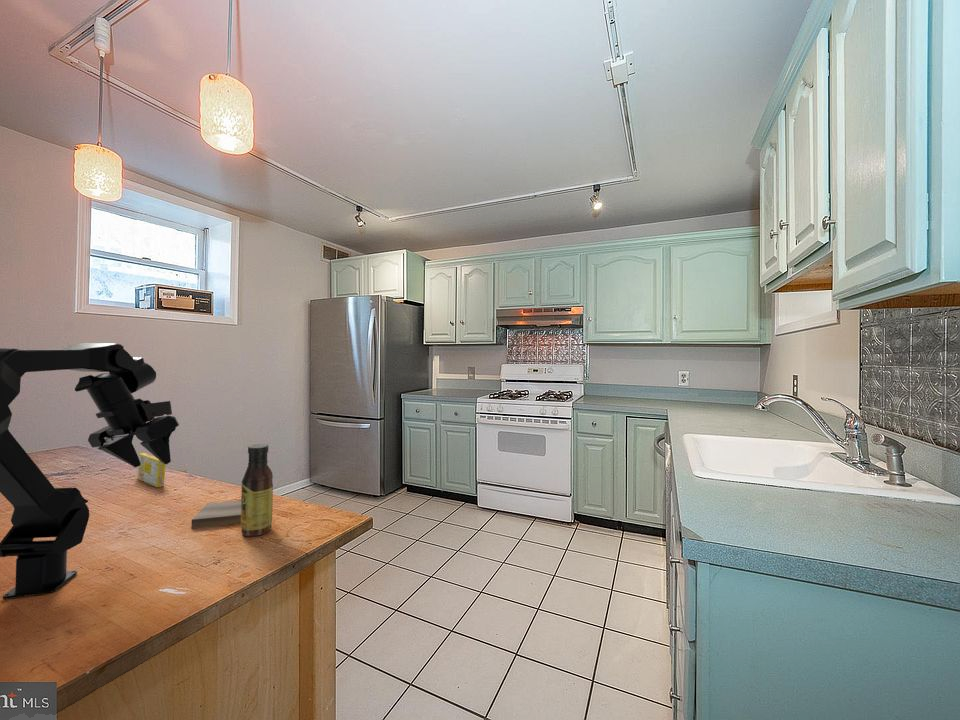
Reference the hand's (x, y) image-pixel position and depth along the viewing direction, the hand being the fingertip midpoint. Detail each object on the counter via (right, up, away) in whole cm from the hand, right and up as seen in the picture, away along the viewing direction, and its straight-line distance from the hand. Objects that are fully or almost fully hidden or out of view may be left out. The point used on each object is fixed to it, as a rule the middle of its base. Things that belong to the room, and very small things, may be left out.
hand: (152, 464), depth 86 cm
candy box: (-32, -16, +37) cm, 51 cm away
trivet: (+8, -16, +12) cm, 22 cm away
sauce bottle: (+21, -16, +3) cm, 27 cm away
